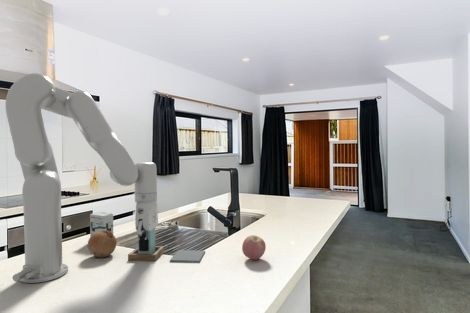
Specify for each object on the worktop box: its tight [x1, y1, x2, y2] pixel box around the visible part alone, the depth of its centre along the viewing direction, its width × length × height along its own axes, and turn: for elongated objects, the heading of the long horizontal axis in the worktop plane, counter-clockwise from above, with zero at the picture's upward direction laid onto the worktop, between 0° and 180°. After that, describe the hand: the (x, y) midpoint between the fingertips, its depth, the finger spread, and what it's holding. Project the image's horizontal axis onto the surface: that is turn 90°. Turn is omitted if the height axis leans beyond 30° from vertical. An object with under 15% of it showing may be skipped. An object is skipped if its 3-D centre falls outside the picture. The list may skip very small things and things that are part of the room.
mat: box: [169, 249, 206, 263], centre depth 106 cm, size 10×10×1 cm
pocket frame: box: [127, 245, 165, 262], centre depth 107 cm, size 10×10×2 cm
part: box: [137, 227, 156, 254], centre depth 107 cm, size 4×4×10 cm
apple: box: [241, 234, 267, 261], centre depth 103 cm, size 8×8×8 cm
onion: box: [87, 230, 117, 259], centre depth 108 cm, size 10×9×10 cm
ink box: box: [89, 211, 114, 238], centre depth 124 cm, size 9×5×12 cm, turn 62°
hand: (146, 247), depth 107 cm, fingers closed on part, 4 cm apart
